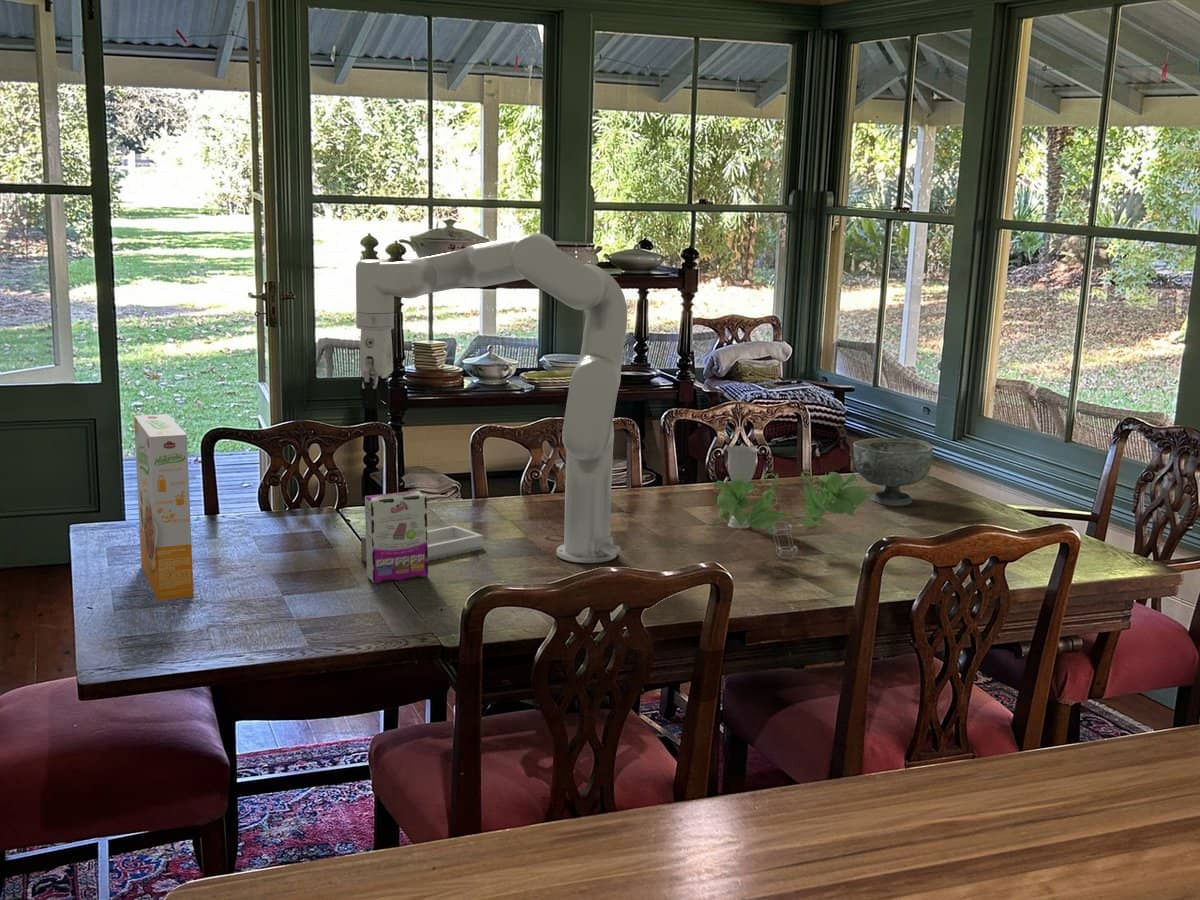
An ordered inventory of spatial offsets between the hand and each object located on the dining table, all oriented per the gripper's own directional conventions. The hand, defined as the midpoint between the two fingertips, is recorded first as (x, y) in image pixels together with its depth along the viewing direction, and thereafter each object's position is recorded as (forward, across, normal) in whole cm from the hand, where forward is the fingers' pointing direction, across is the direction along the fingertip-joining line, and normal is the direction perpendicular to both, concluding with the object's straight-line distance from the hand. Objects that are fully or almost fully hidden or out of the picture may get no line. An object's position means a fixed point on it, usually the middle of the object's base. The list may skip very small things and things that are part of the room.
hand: (375, 404), depth 252 cm
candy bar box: (+30, -21, -9) cm, 38 cm away
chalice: (+30, +27, -78) cm, 88 cm away
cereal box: (+31, -29, +34) cm, 54 cm away
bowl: (+30, +57, -118) cm, 134 cm away
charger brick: (+30, -10, -2) cm, 32 cm away
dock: (+30, -2, -13) cm, 33 cm away
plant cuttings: (+30, +7, -85) cm, 90 cm away
